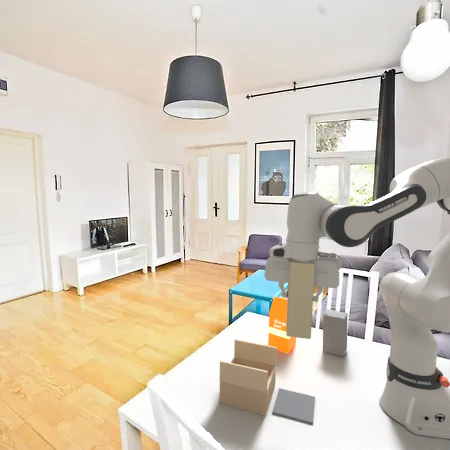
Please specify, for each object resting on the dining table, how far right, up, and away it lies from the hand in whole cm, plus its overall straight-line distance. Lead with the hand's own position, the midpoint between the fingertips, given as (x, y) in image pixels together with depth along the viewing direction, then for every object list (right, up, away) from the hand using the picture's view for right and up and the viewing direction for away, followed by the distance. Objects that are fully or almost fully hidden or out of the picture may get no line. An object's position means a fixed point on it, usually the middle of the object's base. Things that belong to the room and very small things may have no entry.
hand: (299, 298), depth 84 cm
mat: (-1, -32, +3) cm, 32 cm away
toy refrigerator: (0, -10, +1) cm, 10 cm away
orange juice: (+2, -29, +37) cm, 47 cm away
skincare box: (+22, -30, +34) cm, 50 cm away
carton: (-14, -31, +8) cm, 35 cm away
